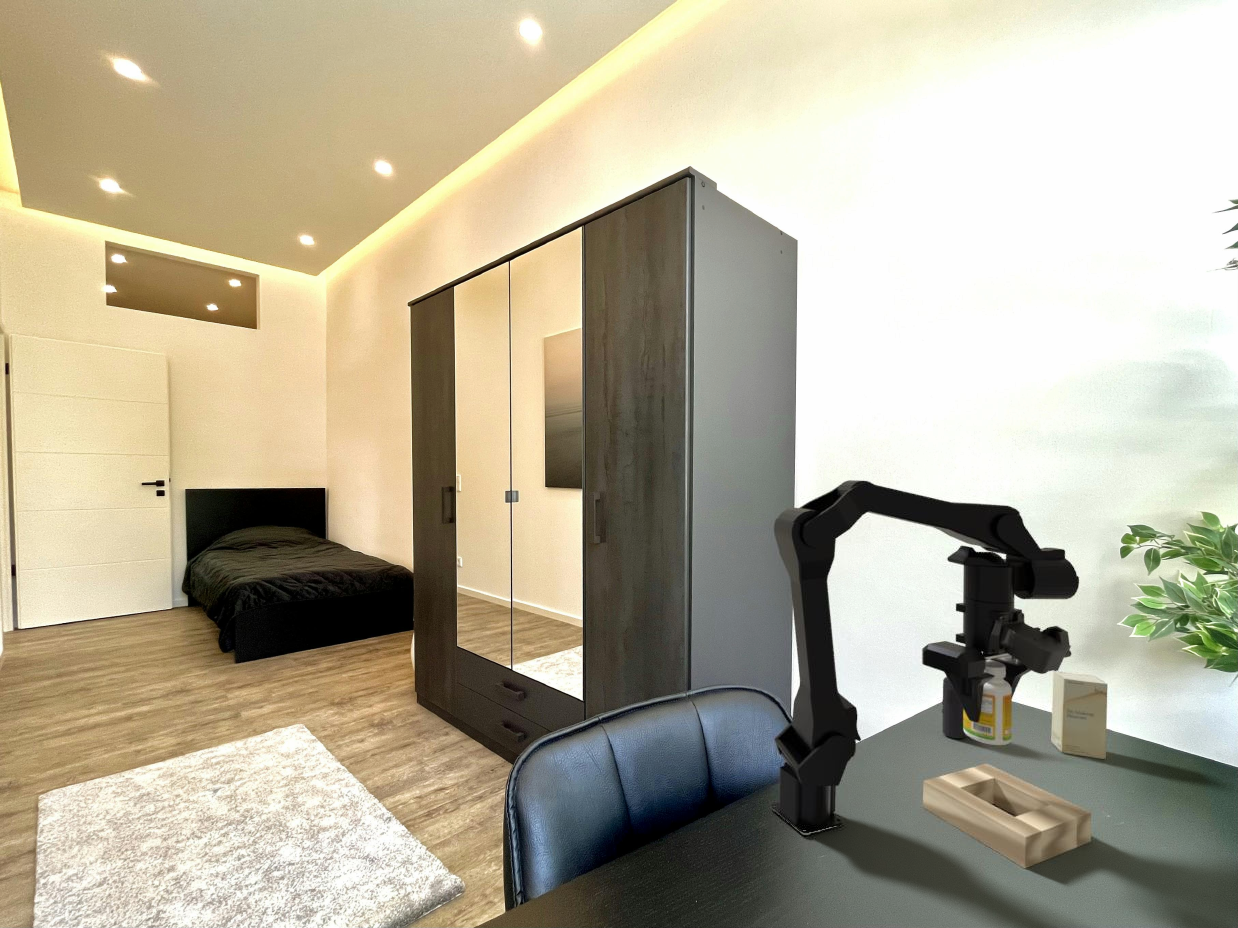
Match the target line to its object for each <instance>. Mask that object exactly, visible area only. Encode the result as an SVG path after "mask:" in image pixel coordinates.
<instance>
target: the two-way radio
mask: <svg viewBox="0 0 1238 928" xmlns="http://www.w3.org/2000/svg"><path fill="white" fill-rule="evenodd" d="M941 702H942V703H941V704H942V710H941V713H942V733H943V735H944V736H946V737H949V738H952V739H955V740H957V739H963V738H966V737H968V736H967V735H966V734H965V732H964V729H963V707H962V705H961V702H960V700H959V698H958V696H957V694H956V692H955V690H954V688H953V686H952V685H951V683H950V681H949V680H948V678H947V676H945V677H944V678H943V681H942V701H941Z"/></svg>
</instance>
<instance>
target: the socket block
mask: <svg viewBox="0 0 1238 928" xmlns="http://www.w3.org/2000/svg"><path fill="white" fill-rule="evenodd" d="M922 787H923V790H922V791H923V793H922V797H923V799H922V808H923V807H924V808H923V809H925V810H926V811H928V812H930V813H931V814H933V815H934V816H936V817H938V818H940V819H942V820H943V821H945V822H947V823H948V824H950V825H951V826H954V827H955V828H957V829H958V830H960V831H962V832H964V833H965V834H967V835H968V836H970V837H972V838H974V839H975V840H977V841H979V842H981V844H984V845H985V846H987V847H989V848H991V849H992V850H994V851H995V852H997V853H998V854H1001V856H1004V857H1006V859H1009V860H1010V861H1012V862H1013V863H1015V864H1017V865H1018V866H1021V867H1022V868H1023V869H1027V868H1029V867H1031V866H1034V865H1036V864H1039V863H1041V862H1044V861H1046V860H1050V859H1051V858H1052V859H1053V858H1054V857H1057V856H1059V855H1061V854H1064V853H1066V852H1069V851H1071V850H1074V849H1076V848H1079V847H1081V846H1083V845H1085V844H1089V843H1090V842H1092V812H1091V811H1088V810H1087V809H1084V808H1082V807H1081V806H1078V805H1076V804H1074V803H1071V802H1069V801H1067V800H1065V799H1063V798H1061V797H1060V796H1057V795H1055V794H1052V793H1050V792H1048V791H1046V790H1044V789H1041V788H1039V787H1037V786H1035V785H1033V784H1031V783H1029V782H1028V781H1027V782H1026V781H1024V780H1022V779H1021V778H1018V777H1016V776H1014V775H1012V774H1009V773H1007V772H1005V771H1004V770H1001V769H1000V768H997V767H994V766H992V765H991V764H989V763H983V764H980V765H977V766H973V767H969V768H965V769H963V770H962V769H961V770H959V771H955V772H951V773H948V774H943V775H940V776H936V777H933V778H928V779H925V780H923V786H922ZM993 804H994V805H993ZM995 805H996V806H997V807H996V806H995ZM1006 811H1007V812H1006ZM1008 812H1009V813H1008Z"/></svg>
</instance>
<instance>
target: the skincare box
mask: <svg viewBox="0 0 1238 928" xmlns="http://www.w3.org/2000/svg"><path fill="white" fill-rule="evenodd" d="M1051 705H1052V708H1051V712H1052V714H1051V734H1050V735H1051V736H1050V737H1051V740H1050V741H1051V743H1052V744H1053V745H1054V746H1055V747H1056V748H1057V749H1058V750H1059V751H1060V752H1061V753H1064V754H1070V755H1076V756H1083V757H1087V758H1093V759H1099V760H1100V759H1102V760H1106V758H1107V756H1106V755H1107V725H1108V724H1107V721H1108V720H1107V718H1108V717H1107V713H1108V683H1107V682H1105V680H1102V679H1100V678H1099V677H1098V676H1096V675H1091V674H1090V675H1089V674H1084V673H1083V674H1081V673H1073V672H1066V671H1065V672H1063V671H1054V670H1053V671H1052V704H1051Z"/></svg>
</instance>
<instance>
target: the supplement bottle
mask: <svg viewBox="0 0 1238 928" xmlns="http://www.w3.org/2000/svg"><path fill="white" fill-rule="evenodd" d="M985 672H986V673H989V674H992V675H995V677H994V678H992V679H991V680H989V681H988V682H987V683H985V684H984V687H983V696H982V705H981V713H980V718H979V722H977V723H975V722H973V721H970V720H969V719H968V717H967V715H966V713H965V711H964V709H963V729H964V732H965V734H966V735H967V736H966V737H969V738H970V739H972V740H975V741H977V742H980V743H983V744H985V745H986V744H987V745H990V746H991V745H992V746H1005V745H1008V744H1009V745H1010V743H1011V742H1012V734H1013V733H1012V730H1013V729H1012V725H1013V723H1012V719H1013V718H1012V715H1013V713H1012V705H1013V704H1012V703H1013V700H1012V699H1013V697H1012V689H1011V686H1010V684H1009V683H1008V682H1006V681H1005V680H1003V678H1004V677H1005V675H1006V670H1005V665H1004V664H1002V663H1000V662H997V661H994V660H987V662H986V668H985Z"/></svg>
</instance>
